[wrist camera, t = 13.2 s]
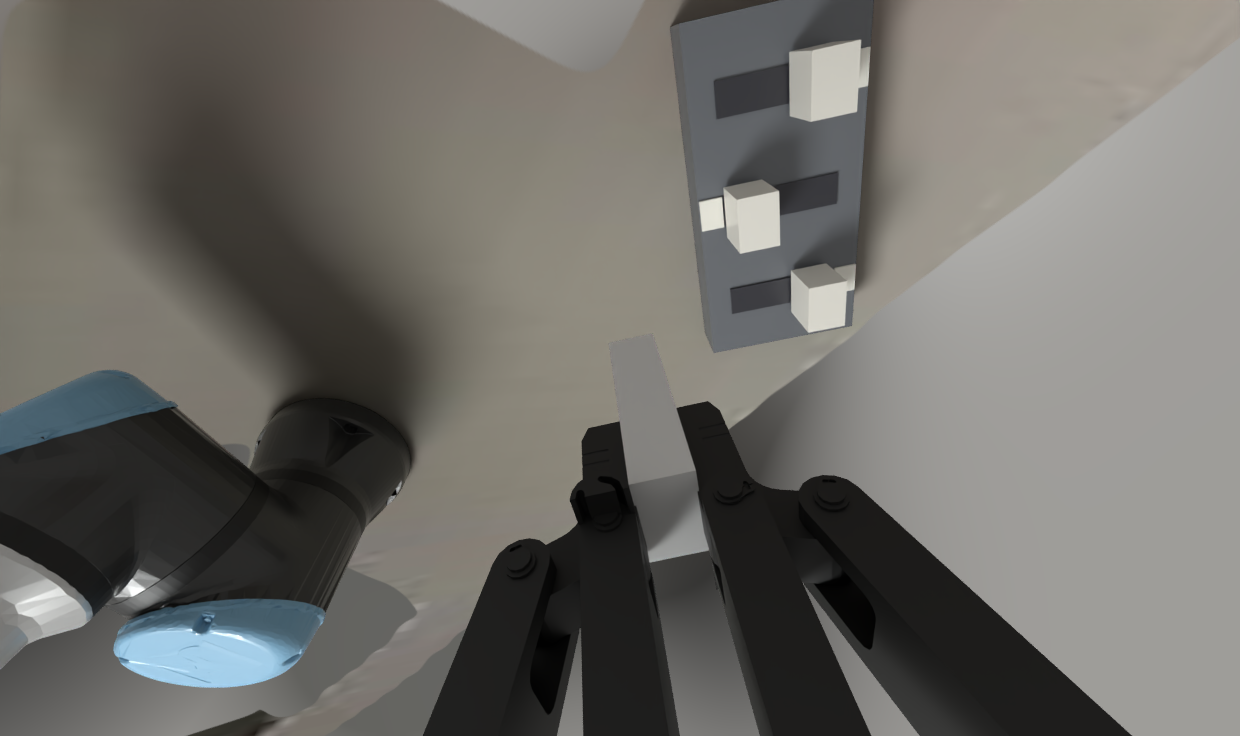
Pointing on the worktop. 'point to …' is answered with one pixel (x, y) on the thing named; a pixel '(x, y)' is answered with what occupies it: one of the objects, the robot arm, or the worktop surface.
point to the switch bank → (768, 159)
